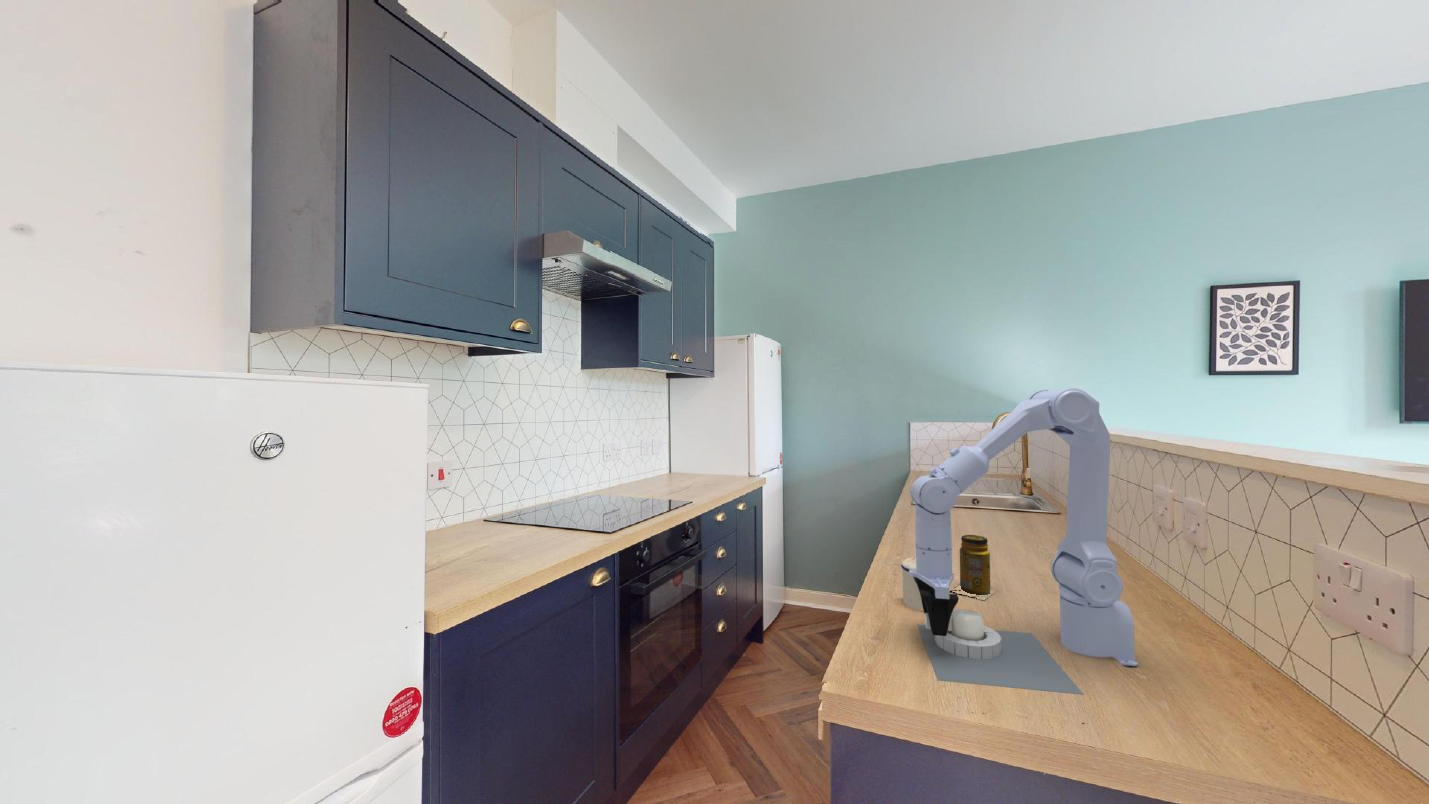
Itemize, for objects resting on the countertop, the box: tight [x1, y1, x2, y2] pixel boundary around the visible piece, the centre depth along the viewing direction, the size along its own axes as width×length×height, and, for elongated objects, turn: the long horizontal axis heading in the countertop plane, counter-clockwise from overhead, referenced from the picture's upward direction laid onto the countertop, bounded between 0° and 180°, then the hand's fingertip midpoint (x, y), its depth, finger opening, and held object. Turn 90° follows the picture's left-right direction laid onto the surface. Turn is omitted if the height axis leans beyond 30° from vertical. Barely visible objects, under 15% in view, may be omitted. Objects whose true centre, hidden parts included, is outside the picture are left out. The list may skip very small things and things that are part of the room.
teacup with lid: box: [900, 555, 924, 613], centre depth 106 cm, size 12×9×12 cm
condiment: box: [949, 534, 998, 601], centre depth 115 cm, size 7×8×12 cm
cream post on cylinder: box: [924, 608, 985, 641], centre depth 88 cm, size 9×5×5 cm, turn 77°
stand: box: [916, 623, 1085, 696], centre depth 84 cm, size 19×20×3 cm
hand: (935, 626), depth 88 cm, fingers open, 6 cm apart
